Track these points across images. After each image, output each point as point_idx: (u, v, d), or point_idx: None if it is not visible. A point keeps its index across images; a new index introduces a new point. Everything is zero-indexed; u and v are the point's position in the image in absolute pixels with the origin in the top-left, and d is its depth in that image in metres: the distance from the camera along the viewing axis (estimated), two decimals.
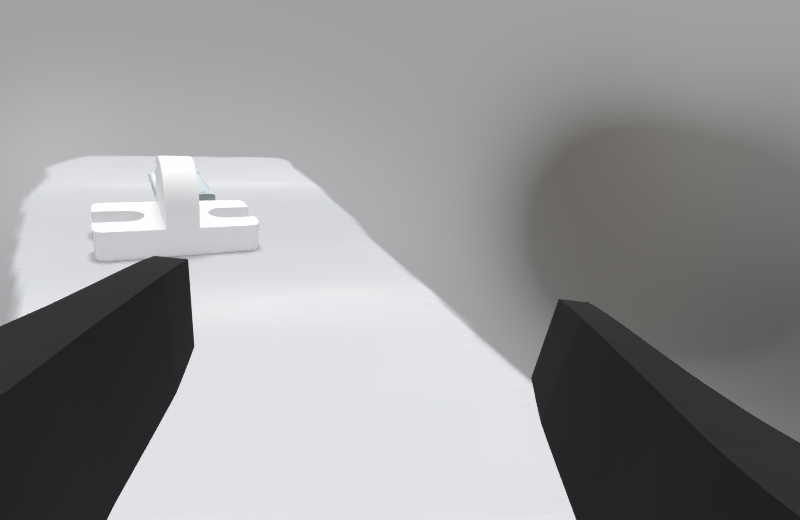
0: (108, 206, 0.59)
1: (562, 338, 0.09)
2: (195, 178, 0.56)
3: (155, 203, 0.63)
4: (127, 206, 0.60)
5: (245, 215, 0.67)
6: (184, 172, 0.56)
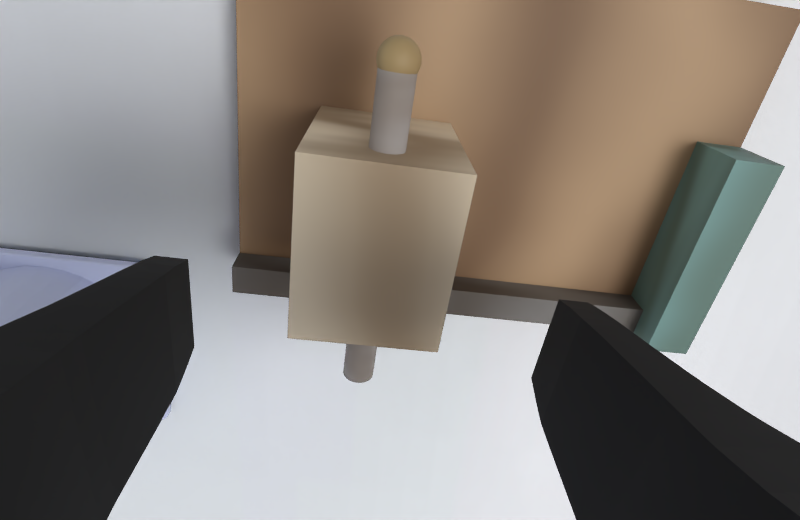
0: None
1: (562, 338, 0.09)
2: None
3: None
4: None
5: None
6: None
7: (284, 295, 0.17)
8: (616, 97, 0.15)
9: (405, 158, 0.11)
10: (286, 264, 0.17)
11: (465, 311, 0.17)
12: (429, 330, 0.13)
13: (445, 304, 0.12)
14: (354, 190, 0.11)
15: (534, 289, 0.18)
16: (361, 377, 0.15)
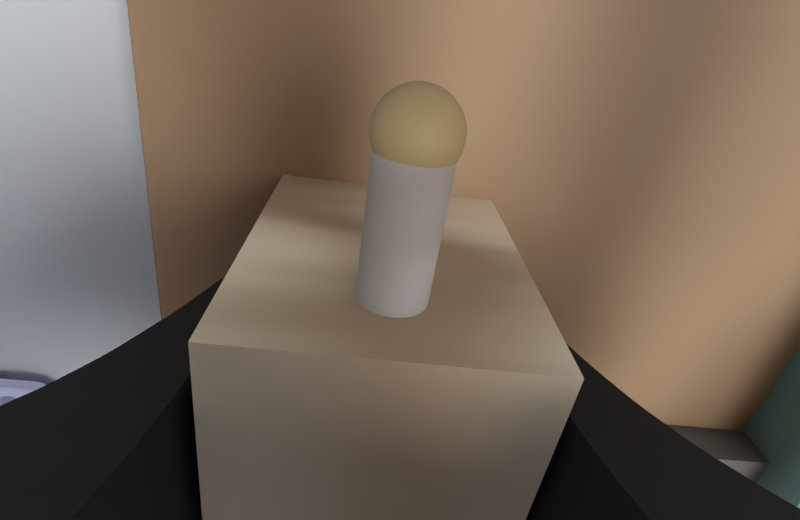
0: None
1: None
2: None
3: None
4: None
5: None
6: None
7: None
8: (763, 160, 0.09)
9: (429, 331, 0.05)
10: None
11: None
12: None
13: None
14: (323, 407, 0.05)
15: None
16: None
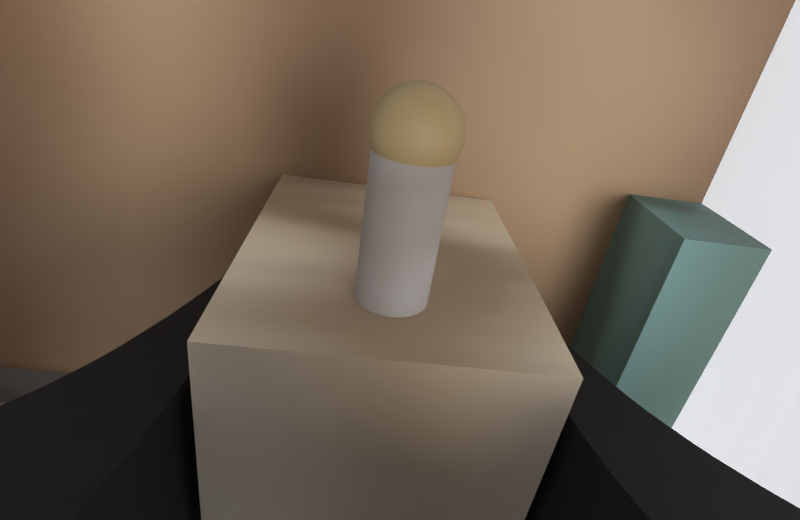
0: None
1: None
2: None
3: None
4: None
5: None
6: None
7: None
8: (486, 123, 0.09)
9: (429, 331, 0.05)
10: None
11: None
12: None
13: None
14: (322, 407, 0.05)
15: None
16: None
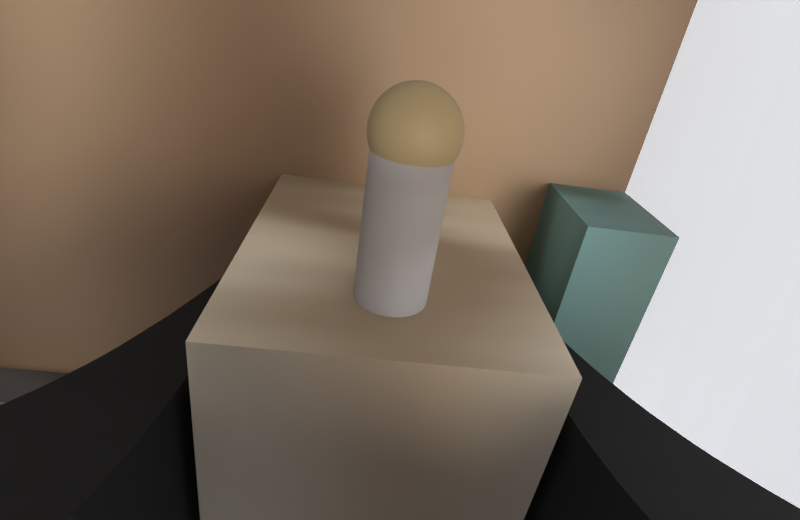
0: None
1: None
2: None
3: None
4: None
5: None
6: None
7: None
8: None
9: (427, 331, 0.05)
10: None
11: None
12: None
13: None
14: (321, 406, 0.05)
15: None
16: None
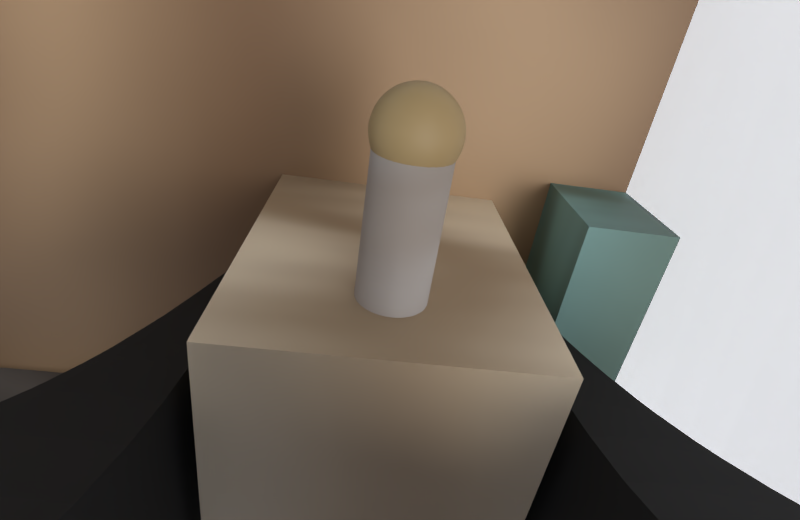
0: None
1: None
2: None
3: None
4: None
5: None
6: None
7: None
8: None
9: (428, 331, 0.05)
10: None
11: None
12: None
13: None
14: (322, 406, 0.05)
15: None
16: None
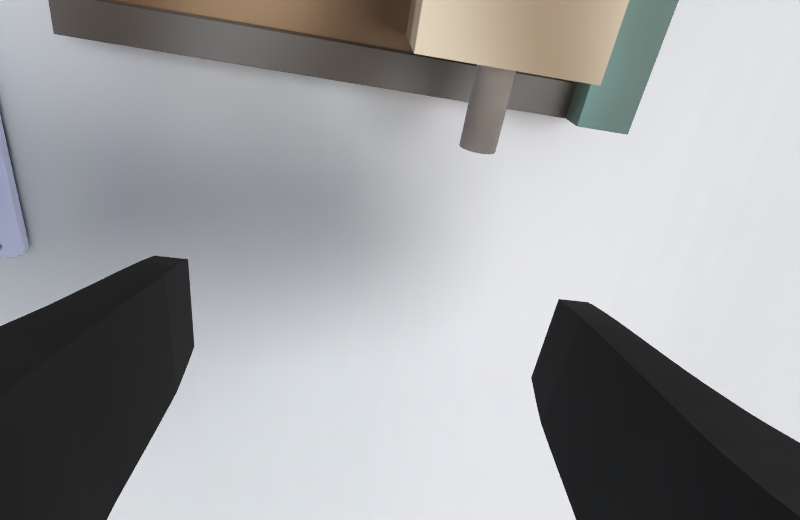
0: None
1: (562, 338, 0.09)
2: None
3: None
4: None
5: None
6: None
7: (121, 42, 0.13)
8: None
9: None
10: (124, 3, 0.13)
11: (353, 76, 0.14)
12: (597, 47, 0.10)
13: (624, 4, 0.10)
14: None
15: None
16: (485, 146, 0.12)
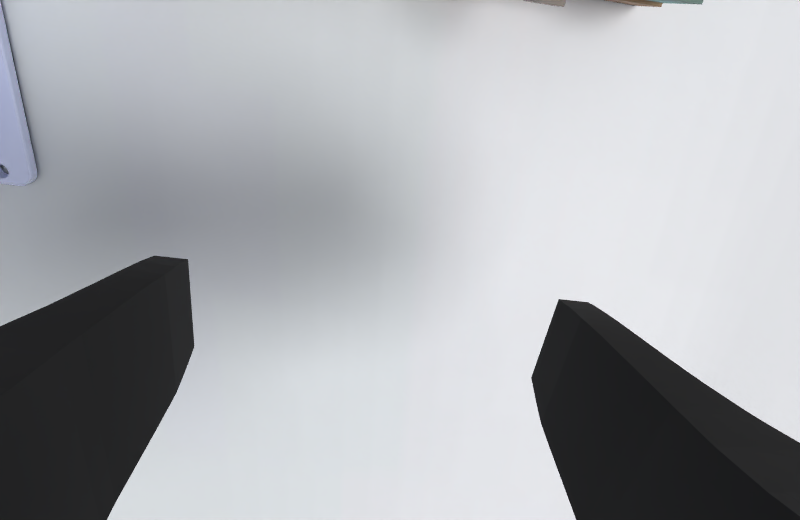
0: None
1: (562, 338, 0.09)
2: None
3: None
4: None
5: None
6: None
7: None
8: None
9: None
10: None
11: None
12: None
13: None
14: None
15: None
16: None
